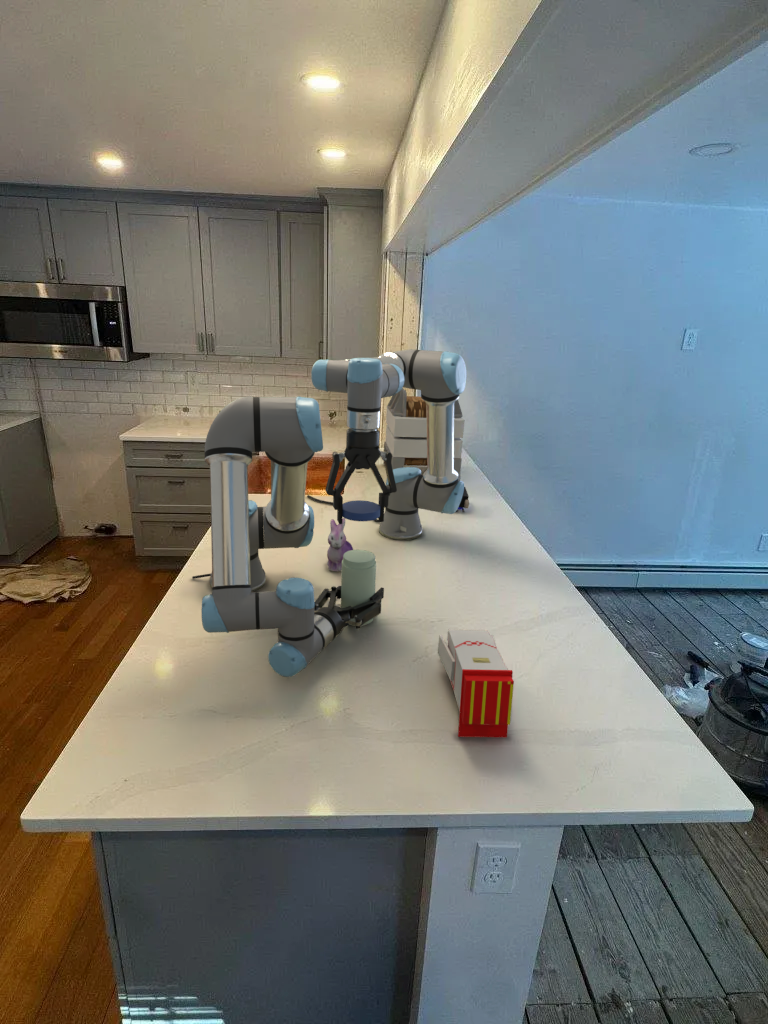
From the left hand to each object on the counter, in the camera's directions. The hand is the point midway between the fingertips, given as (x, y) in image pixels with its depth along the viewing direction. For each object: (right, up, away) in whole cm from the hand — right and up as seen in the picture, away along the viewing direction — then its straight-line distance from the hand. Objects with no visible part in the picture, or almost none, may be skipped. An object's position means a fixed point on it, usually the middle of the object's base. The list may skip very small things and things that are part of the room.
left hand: (366, 588), depth 147 cm
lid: (-1, +21, -12) cm, 24 cm away
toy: (+23, -18, -28) cm, 40 cm away
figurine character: (+35, +21, +82) cm, 91 cm away
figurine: (-9, +3, +26) cm, 28 cm away
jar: (-2, -7, -2) cm, 8 cm away
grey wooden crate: (+22, +39, +128) cm, 135 cm away
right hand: (-1, +18, -11) cm, 21 cm away
